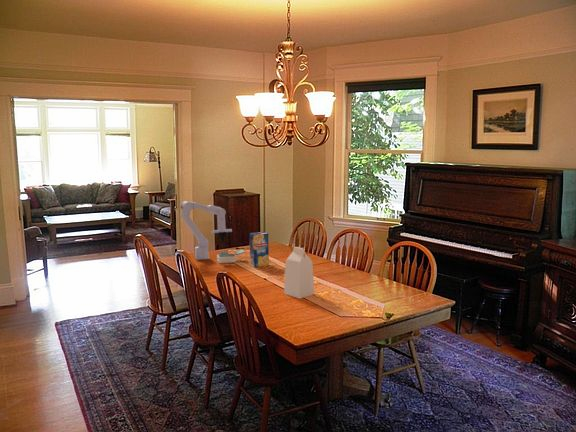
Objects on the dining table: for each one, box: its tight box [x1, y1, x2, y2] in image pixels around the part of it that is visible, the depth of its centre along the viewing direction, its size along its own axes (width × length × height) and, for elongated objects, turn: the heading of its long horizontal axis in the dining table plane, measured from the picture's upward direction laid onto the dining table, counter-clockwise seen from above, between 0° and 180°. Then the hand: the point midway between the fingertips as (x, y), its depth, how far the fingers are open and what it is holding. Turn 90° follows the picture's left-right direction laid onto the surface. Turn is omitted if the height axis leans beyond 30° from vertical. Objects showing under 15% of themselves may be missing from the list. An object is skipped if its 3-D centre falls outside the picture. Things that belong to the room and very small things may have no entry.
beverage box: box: [249, 231, 270, 268], centre depth 325 cm, size 7×11×22 cm, turn 119°
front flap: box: [218, 250, 229, 257], centre depth 330 cm, size 6×6×1 cm
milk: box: [283, 246, 315, 299], centre depth 262 cm, size 12×12×26 cm
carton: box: [216, 253, 237, 264], centre depth 338 cm, size 12×9×4 cm
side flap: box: [233, 249, 245, 256], centre depth 340 cm, size 6×8×1 cm
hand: (222, 242), depth 352 cm, fingers closed
